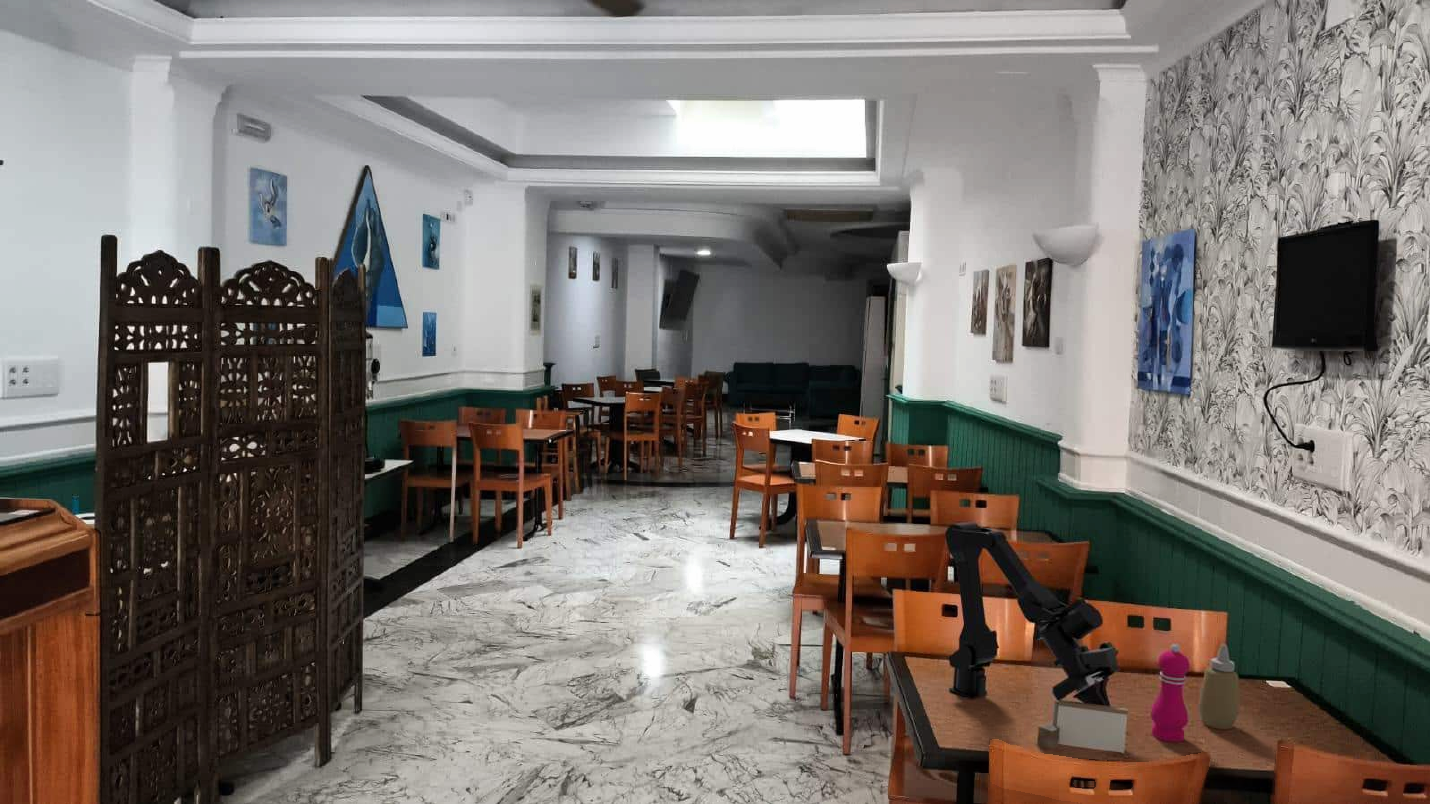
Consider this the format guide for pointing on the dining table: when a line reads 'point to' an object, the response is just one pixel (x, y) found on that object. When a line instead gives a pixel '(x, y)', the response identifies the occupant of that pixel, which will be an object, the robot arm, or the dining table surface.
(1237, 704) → the squeeze bottle
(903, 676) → the dining table surface
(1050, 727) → the gate frame
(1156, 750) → the dining table surface
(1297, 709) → the dining table surface
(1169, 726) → the pepper mill
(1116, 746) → the gate
